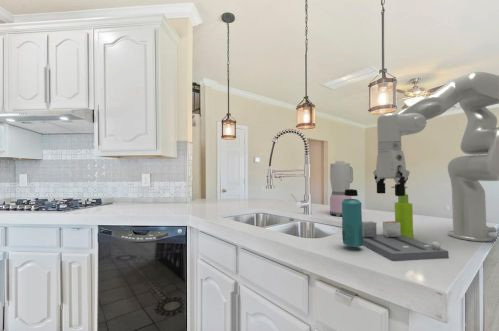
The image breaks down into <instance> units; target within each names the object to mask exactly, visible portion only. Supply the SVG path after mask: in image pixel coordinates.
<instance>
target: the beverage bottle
mask: <svg viewBox="0 0 499 331" xmlns="http://www.w3.org/2000/svg"><path fill="white" fill-rule="evenodd" d="M345 196H351V197H358V196H359V195H358V190H357V189H354V188H349V189H347V190H345ZM362 222H363V214H362V202H361V201H360V200H359V199H357V198H352V199H344V200H343V201H342V215H341V225H342V229H341V235H342V237H341V239H342V244H343V245H345V246H348V247H354V248H359V247H362V246H363V245H362V244H363V236H362V230H363V223H362Z"/></svg>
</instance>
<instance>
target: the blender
mask: <svg viewBox="0 0 499 331" xmlns="http://www.w3.org/2000/svg"><path fill="white" fill-rule="evenodd" d="M329 173H330V174H329V176H330V177H329V180H330V185H331V186H330V187H331V194H330V196H329V214H330V216H332V215H335V216H336V217H338V218H340V217H341V216H342V201H343V200H344V199H353V198H352V196H345V190H347V189H351V188H350V187H351V184H352V183H353V182H354V169H353V168H352V166H351V164H350V163H348V162H346V163H345V161H344V160H343V161H342V160H340V161H339V160H338V161H337V160H335V162H334V163H330V166H329Z"/></svg>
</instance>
